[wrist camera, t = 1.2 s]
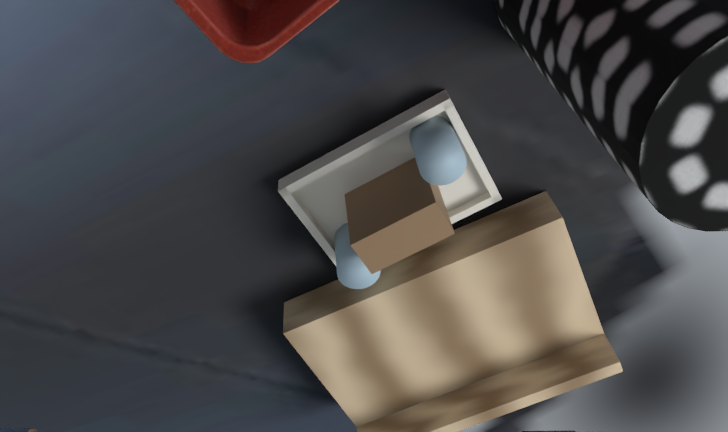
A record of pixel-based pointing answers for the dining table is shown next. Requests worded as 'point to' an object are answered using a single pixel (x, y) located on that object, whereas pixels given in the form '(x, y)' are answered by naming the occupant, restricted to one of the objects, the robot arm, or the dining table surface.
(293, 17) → the plant pot
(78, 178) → the dining table surface
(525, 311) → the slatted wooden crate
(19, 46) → the dining table surface
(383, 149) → the caddy tray
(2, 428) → the robot arm
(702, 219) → the white-spotted black cylinder
